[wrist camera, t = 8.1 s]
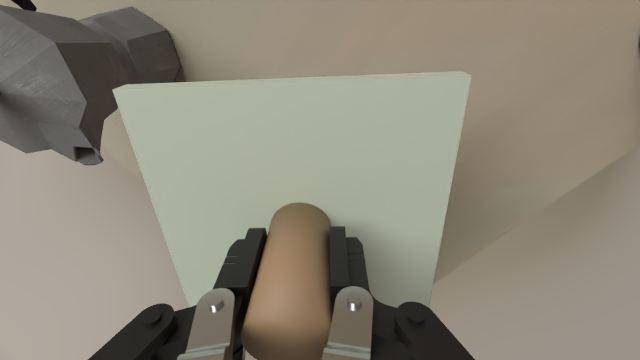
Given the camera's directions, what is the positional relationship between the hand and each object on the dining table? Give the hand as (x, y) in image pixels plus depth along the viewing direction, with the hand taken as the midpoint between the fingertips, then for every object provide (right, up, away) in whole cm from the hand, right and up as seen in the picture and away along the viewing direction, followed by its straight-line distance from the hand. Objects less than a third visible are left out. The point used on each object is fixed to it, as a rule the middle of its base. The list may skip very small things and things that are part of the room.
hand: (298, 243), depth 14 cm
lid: (0, +1, +2) cm, 2 cm away
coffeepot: (-19, +17, +18) cm, 31 cm away
